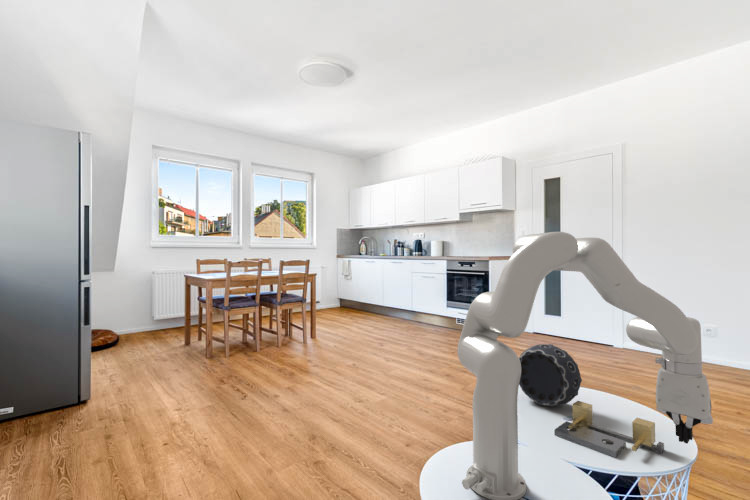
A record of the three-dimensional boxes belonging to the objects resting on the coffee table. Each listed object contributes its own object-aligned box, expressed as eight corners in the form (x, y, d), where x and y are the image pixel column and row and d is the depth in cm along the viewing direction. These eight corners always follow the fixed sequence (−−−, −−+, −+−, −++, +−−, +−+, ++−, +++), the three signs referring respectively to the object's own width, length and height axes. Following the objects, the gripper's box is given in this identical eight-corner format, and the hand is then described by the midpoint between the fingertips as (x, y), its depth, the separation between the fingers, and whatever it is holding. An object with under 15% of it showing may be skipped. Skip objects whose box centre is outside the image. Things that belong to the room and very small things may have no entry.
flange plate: (615, 457, 89) (615, 451, 89) (554, 435, 101) (554, 429, 101) (626, 446, 94) (625, 440, 95) (566, 426, 106) (566, 421, 106)
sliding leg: (643, 456, 87) (643, 436, 88) (624, 450, 91) (624, 430, 91) (655, 441, 95) (654, 422, 95) (637, 435, 98) (636, 417, 98)
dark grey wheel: (528, 391, 133) (527, 337, 134) (585, 409, 117) (584, 348, 118) (512, 398, 127) (511, 342, 127) (570, 418, 111) (569, 354, 111)
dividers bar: (653, 465, 86) (653, 439, 86) (562, 432, 102) (562, 410, 102) (664, 449, 93) (664, 425, 93) (578, 421, 109) (577, 400, 109)
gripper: (641, 363, 92) (643, 434, 92) (721, 377, 81) (724, 459, 81) (649, 357, 97) (651, 425, 97) (725, 370, 86) (728, 447, 85)
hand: (684, 440), depth 89 cm, fingers closed
